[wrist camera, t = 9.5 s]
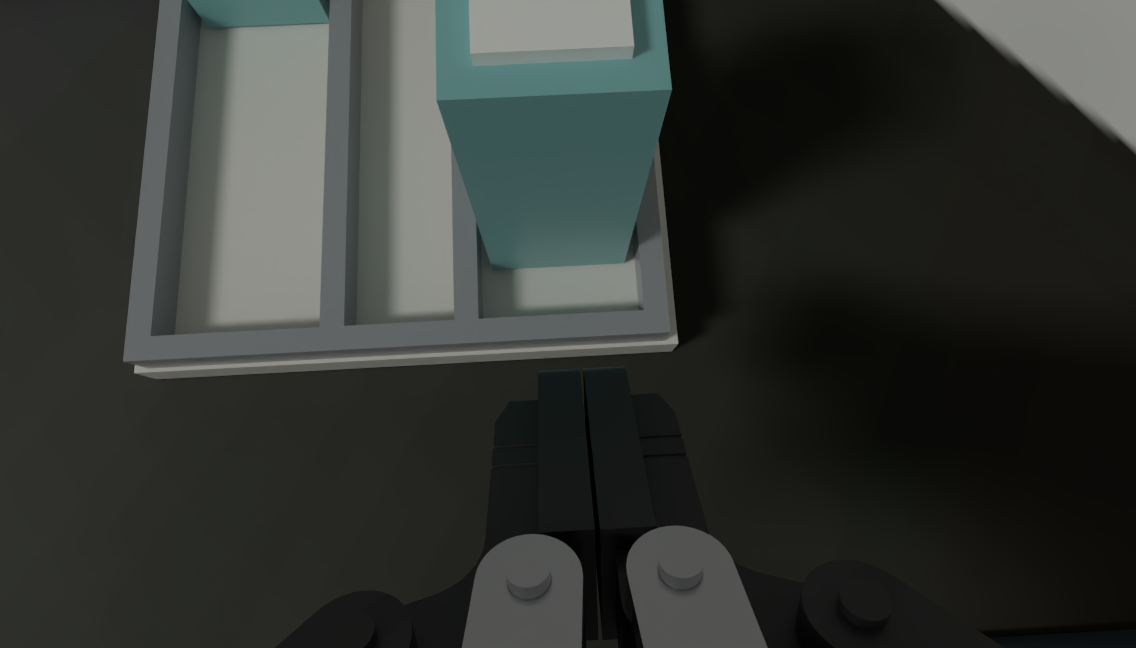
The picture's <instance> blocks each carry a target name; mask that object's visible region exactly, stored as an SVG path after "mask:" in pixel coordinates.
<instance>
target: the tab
mask: <svg viewBox="0 0 1136 648" xmlns="http://www.w3.org/2000/svg"><path fill="white" fill-rule="evenodd" d="M435 16H436V101H437V104H438V107H439V110H440V113H441V116H442V119H443V122H444V125H445V128H446V131H447V134H448V137H449V140H450V143H451V146H452V149H453V152H454V155H455V158H456V161H457V164H458V167H459V170H460V173H461V176H462V179H463V182H464V185H465V188H466V191H467V194H468V197H469V200H470V203H471V206H472V209H473V212H474V215H475V218H476V221H477V224H478V227H479V230H480V233H481V236H482V240H483V243H484V246H485V249H486V252H487V255H488V258H489V261H490V264H491V267H492V270H503V269H522V268H542V267H561V266H581V265H600V264H620V263H624V262H625V258H626V255H627V251H628V247H629V244H630V240H631V237H632V233H633V229H634V226H635V222H636V218H637V215H638V211H639V208H640V204H641V200H642V197H643V193H644V189H645V186H646V182H647V178H648V175H649V171H650V168H651V164H652V160H653V157H654V153H655V149H656V146H657V142H658V138H659V135H660V131H661V128H662V124H663V120H664V117H665V113H666V109H667V106H668V102H669V98H670V95H671V91H672V85H671V76H670V66H669V57H668V47H667V37H666V28H665V18H664V9H663V0H435Z"/></svg>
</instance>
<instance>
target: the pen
mask: <svg viewBox="0 0 1136 648" xmlns="http://www.w3.org/2000/svg"><path fill="white" fill-rule="evenodd" d="M990 639H992V640H993V641H995V642H996V643H998V644H999V645H1001V646H1003V647H1004V648H1136V629H1127V630H1110V631H1093V632H1076V633H1059V634H1042V635H1026V636H1009V637H992V638H990Z"/></svg>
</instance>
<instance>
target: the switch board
mask: <svg viewBox="0 0 1136 648" xmlns="http://www.w3.org/2000/svg"><path fill="white" fill-rule="evenodd" d="M677 345H678V336H677V326H676V316H675V305H674V295H673V285H672V275H671V264H670V254H669V244H668V233H667V223H666V213H665V203H664V192H663V182H662V172H661V161H660V151H659V141H658V142H657V146H656V149H655V153H654V157H653V160H652V164H651V168H650V171H649V175H648V178H647V182H646V186H645V189H644V193H643V197H642V200H641V204H640V208H639V211H638V215H637V218H636V222H635V226H634V229H633V233H632V237H631V240H630V244H629V247H628V251H627V255H626V258H625V262H624V263H620V264H600V265H581V266H561V267H542V268H522V269H503V270H492V267H491V264H490V261H489V258H488V255H487V252H486V249H485V246H484V243H483V240H482V236H481V233H480V230H479V227H478V224H477V221H476V218H475V215H474V212H473V209H472V206H471V203H470V200H469V197H468V194H467V191H466V188H465V185H464V182H463V179H462V176H461V173H460V170H459V167H458V164H457V161H456V158H455V155H454V152H453V149H452V146H451V143H450V140H449V137H448V134H447V131H446V128H445V125H444V122H443V119H442V116H441V113H440V110H439V107H438V104H437V101H436V16H435V0H330V13H329V23H309V24H286V25H263V26H241V27H218V28H209V27H208V26H207V25H206V23H205V22H204V21H203V20H202V18H201V17H200V16H199V14H198V13H197V12H196V11H195V9H194V8H193V7H192V5H191V4H190V3H189V2H188V0H160V5H159V15H158V25H157V35H156V44H155V54H154V64H153V74H152V84H151V93H150V103H149V113H148V123H147V133H146V142H145V152H144V162H143V172H142V181H141V191H140V201H139V211H138V221H137V230H136V240H135V250H134V260H133V270H132V279H131V289H130V299H129V309H128V319H127V328H126V338H125V348H124V358H123V362H126V363H130V364H134V365H135V369H134V373H135V374H139V375H143V376H147V377H151V378H155V379H169V378H188V377H206V376H225V375H243V374H262V373H280V372H299V371H317V370H336V369H354V368H372V367H391V366H409V365H428V364H446V363H465V362H483V361H502V360H520V359H539V358H557V357H575V356H594V355H612V354H631V353H649V352H668V351H673V350H674V348H675V347H676V346H677Z"/></svg>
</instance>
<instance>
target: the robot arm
mask: <svg viewBox="0 0 1136 648" xmlns="http://www.w3.org/2000/svg"><path fill="white" fill-rule="evenodd" d="M583 382H584V407H583V397H582V386H581V375H580V369H564V370H547V371H539V372H538V400H532V401H514V402H509V403H508V405H507V406H506V408H505V409H504V410H503V412H502V413H501V415H500V416H499V418H498V419H497V421H496V422H495V434H494V450H493V457H492V469H491V480H490V492H489V504H488V515H487V527H486V539H485V545H484V549H483V552H482V555H481V557H480V559H479V560H478V562H477V564H476V565H475V566H474V568H473V569H472V570H471V572H470V573H468V574H467V575H466V576H465V577H464V578H463V579H462V580H461V581H459V582H458V583H457V584H455V585H454V586H452V587H450V588H448V589H447V590H445V591H442V592H440V593H438V594H435V595H432V596H429V597H427V598H424V599H421V600H418V601H415V602H413V603H410V604H407V605H403V604H402V603H401V602H400V601H399V600H398V599H397V598H395V597H393V596H391V595H389V594H386V593H383V592H379V591H359V592H353V593H350V594H347V595H344V596H341V597H339V598H337V599H335V600H333V601H331V602H330V603H328V604H326V605H325V606H323V607H322V608H321V609H319V610H318V611H317V612H316V613H314V614H313V615H312V616H311V617H310V618H309V619H308V620H306V621H305V622H304V623H303V624H302V625H301V626H300V627H298V628H297V629H296V630H295V631H294V632H293V633H292V634H290V635H289V636H288V637H287V638H286V639H285V640H284V641H283V642H281V643H280V644H279V645H278V646H277V647H276V648H586V641H587V640H598V619H597V586H596V570H597V581H598V592H599V603H600V614H601V626H602V637H603V640H609V639H618V647H619V648H1004V647H1003V646H1001V645H999V644H998V643H996V642H995V641H993V640H992V639H990V638H989V637H987V636H985V635H984V634H982V633H981V632H979V631H978V630H976V629H975V628H973V627H972V626H970V625H968V624H967V623H965V622H964V621H962V620H961V619H959V618H958V617H956V616H955V615H953V614H951V613H950V612H948V611H947V610H945V609H944V608H942V607H941V606H939V605H937V604H936V603H934V602H933V601H931V600H930V599H928V598H927V597H925V596H924V595H922V594H920V593H919V592H917V591H916V590H914V589H913V588H911V587H910V586H908V585H907V584H905V583H903V582H902V581H900V580H899V579H897V578H896V577H894V576H893V575H891V574H889V573H887V572H886V571H884V570H882V569H880V568H877V567H875V566H873V565H870V564H866V563H863V562H858V561H852V560H839V561H831V562H828V563H824V564H822V565H820V566H818V567H817V568H815V569H814V570H813V571H812V572H811V573H810V574H809V575H808V576H807V578H806V580H805V582H804V583H800V582H796V581H791V580H787V579H782V578H778V577H774V576H769V575H765V574H761V573H758V572H754V571H752V570H750V569H747V568H745V567H743V566H741V565H739V564H738V563H736V562H734V561H733V560H732V558H731V556H730V554H729V552H728V551H727V550H726V548H725V547H724V546H723V545H722V544H721V543H720V542H719V541H718V540H716V539H715V538H713V537H712V536H711V535H710V534H709V531H708V529H707V526H706V522H705V518H704V515H703V511H702V508H701V504H700V500H699V497H698V493H697V490H696V486H695V482H694V479H693V475H692V472H691V468H690V464H689V461H688V458H687V456H686V450H685V446H684V443H683V439H681V432H680V429H679V425H678V421H677V418H676V414H675V412H674V411H673V410H672V408H671V407H670V406H669V405H668V404H667V403H666V402H665V401H664V400H663V399H662V398H661V397H660V396H659V395H658V394H640V395H631V393H630V388H629V383H628V378H627V373H626V368H625V366H620V367H603V368H585V369H583ZM584 409H585V418H584Z"/></svg>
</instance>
